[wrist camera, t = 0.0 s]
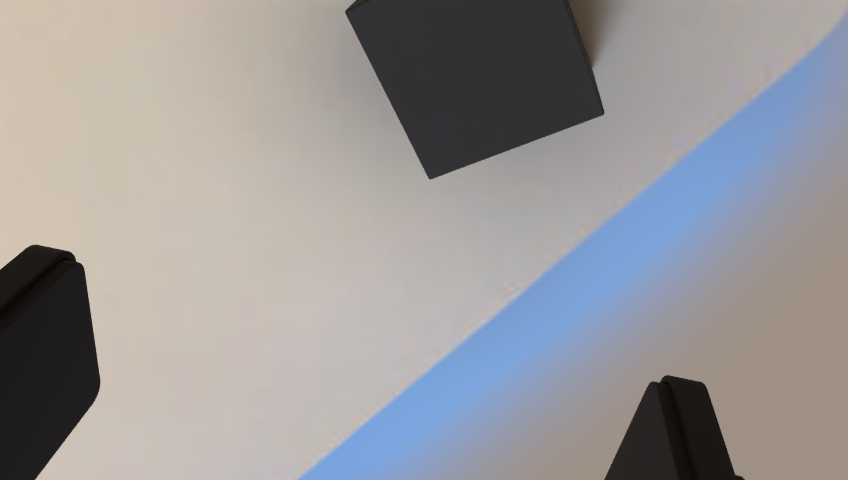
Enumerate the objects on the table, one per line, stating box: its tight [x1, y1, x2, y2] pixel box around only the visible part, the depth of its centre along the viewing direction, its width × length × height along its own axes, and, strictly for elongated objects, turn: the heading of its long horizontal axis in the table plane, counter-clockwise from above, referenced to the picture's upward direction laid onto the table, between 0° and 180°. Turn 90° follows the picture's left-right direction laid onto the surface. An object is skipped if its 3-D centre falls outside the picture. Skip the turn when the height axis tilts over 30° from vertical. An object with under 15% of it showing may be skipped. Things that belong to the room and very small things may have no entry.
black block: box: [345, 0, 604, 179], centre depth 20 cm, size 6×6×4 cm
